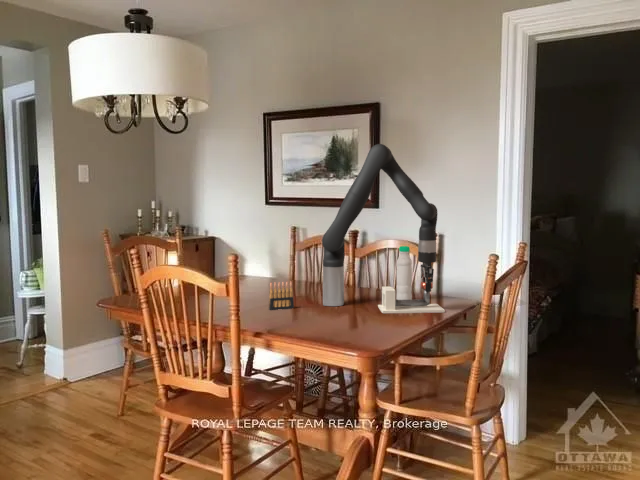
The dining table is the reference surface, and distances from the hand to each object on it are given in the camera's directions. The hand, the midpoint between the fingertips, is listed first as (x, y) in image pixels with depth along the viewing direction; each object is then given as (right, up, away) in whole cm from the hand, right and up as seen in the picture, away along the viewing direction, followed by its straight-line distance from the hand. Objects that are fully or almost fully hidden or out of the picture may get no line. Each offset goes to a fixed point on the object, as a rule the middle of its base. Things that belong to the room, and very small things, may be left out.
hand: (426, 290), depth 243 cm
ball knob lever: (-7, -7, 0) cm, 10 cm away
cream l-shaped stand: (-7, -8, 0) cm, 11 cm away
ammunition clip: (-62, -9, +3) cm, 63 cm away
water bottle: (-7, -7, +20) cm, 22 cm away
